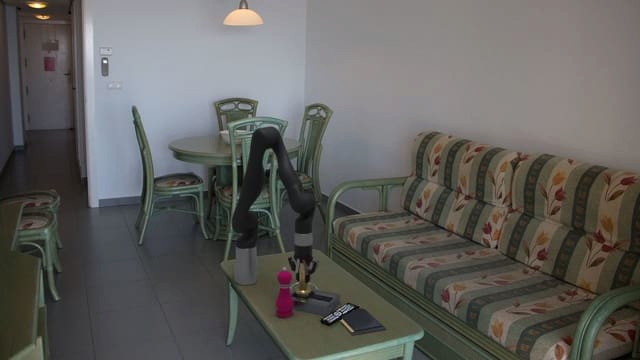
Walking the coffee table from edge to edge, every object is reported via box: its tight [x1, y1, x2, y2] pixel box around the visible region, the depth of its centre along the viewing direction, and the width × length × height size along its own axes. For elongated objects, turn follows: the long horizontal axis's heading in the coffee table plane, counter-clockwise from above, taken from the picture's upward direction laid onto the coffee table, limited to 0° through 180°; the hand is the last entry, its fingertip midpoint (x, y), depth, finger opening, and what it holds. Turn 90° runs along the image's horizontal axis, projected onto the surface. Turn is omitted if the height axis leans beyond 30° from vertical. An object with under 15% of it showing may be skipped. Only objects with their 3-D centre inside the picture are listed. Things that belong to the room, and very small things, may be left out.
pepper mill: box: [274, 266, 294, 319], centre depth 223 cm, size 7×7×20 cm
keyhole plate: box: [290, 288, 341, 317], centre depth 234 cm, size 19×14×4 cm
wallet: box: [340, 307, 387, 337], centre depth 221 cm, size 20×2×15 cm
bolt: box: [294, 263, 312, 296], centre depth 234 cm, size 6×6×14 cm
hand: (303, 281), depth 234 cm, fingers closed on bolt, 3 cm apart
